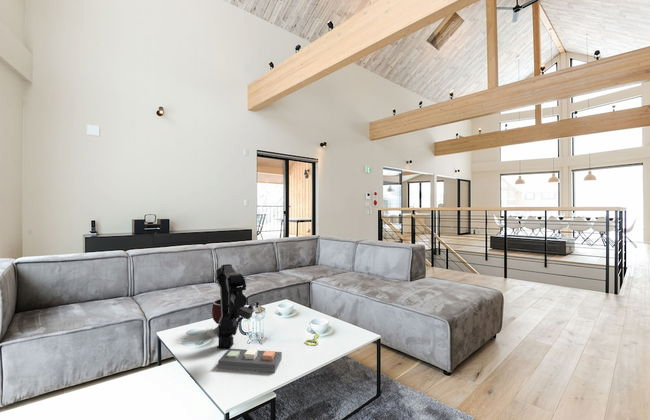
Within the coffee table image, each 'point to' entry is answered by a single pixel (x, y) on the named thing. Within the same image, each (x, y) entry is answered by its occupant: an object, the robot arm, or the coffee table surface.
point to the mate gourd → (216, 312)
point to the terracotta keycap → (269, 355)
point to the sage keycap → (233, 354)
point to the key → (313, 341)
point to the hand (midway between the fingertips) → (234, 334)
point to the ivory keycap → (251, 354)
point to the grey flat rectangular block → (250, 362)
